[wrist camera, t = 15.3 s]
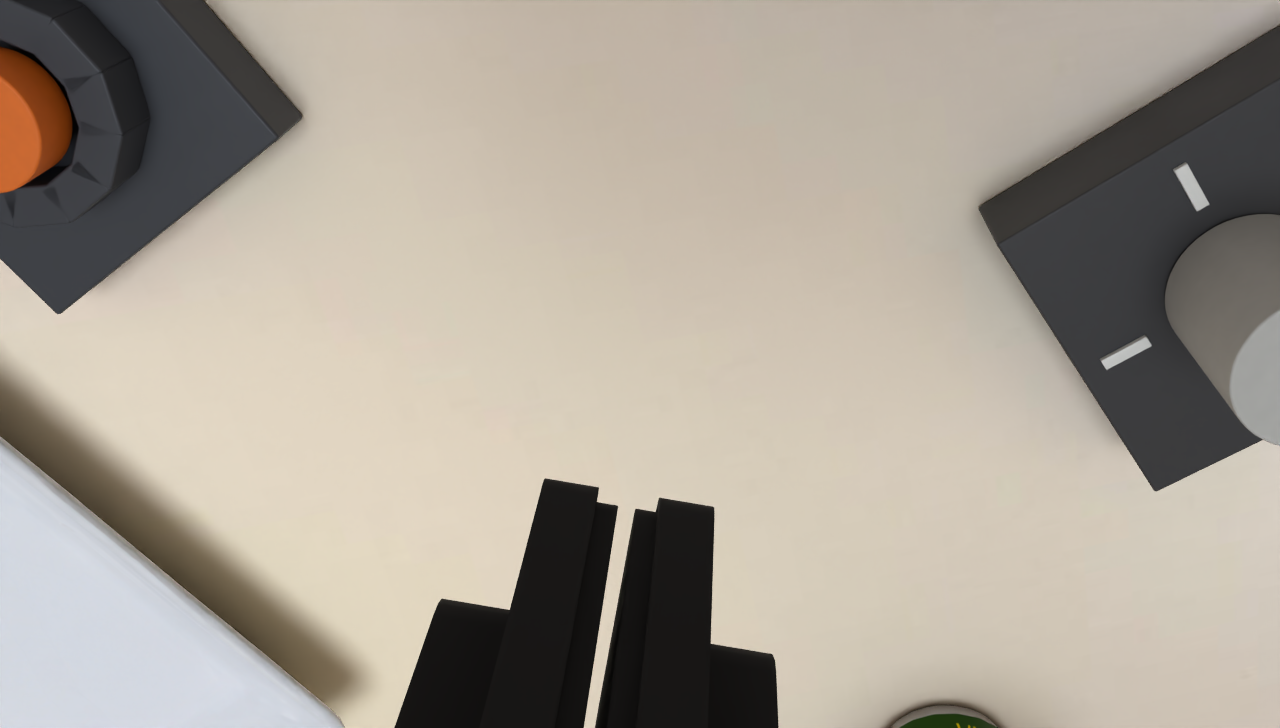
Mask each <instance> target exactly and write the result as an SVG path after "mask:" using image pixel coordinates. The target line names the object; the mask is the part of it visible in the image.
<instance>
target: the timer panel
mask: <svg viewBox="0 0 1280 728" xmlns="http://www.w3.org/2000/svg"><path fill="white" fill-rule="evenodd" d="M979 211H980V213H981V215H982V217H983V219H984V221H985V222H986V224H987V226H988V228H989V230H990V232H991V234H992V236H993V238H994V240H995V242H996V244H997V246H998V247H999V249H1000V251H1001V252H1002V254H1003V255H1004V257H1005V258H1006V260H1007V262H1008V263H1009V265H1010V266H1011V268H1012V269H1013V271H1014V272H1015V274H1016V276H1017V277H1018V279H1019V280H1020V282H1021V283H1022V285H1023V287H1024V288H1025V290H1026V291H1027V293H1028V294H1029V296H1030V297H1031V299H1032V301H1033V302H1034V304H1035V305H1036V307H1037V308H1038V310H1039V312H1040V313H1041V315H1042V316H1043V318H1044V319H1045V321H1046V322H1047V324H1048V326H1049V327H1050V329H1051V330H1052V332H1053V333H1054V335H1055V337H1056V338H1057V340H1058V341H1059V343H1060V344H1061V346H1062V347H1063V349H1064V351H1065V352H1066V354H1067V355H1068V357H1069V358H1070V360H1071V362H1072V363H1073V365H1074V366H1075V368H1076V369H1077V371H1078V372H1079V374H1080V376H1081V377H1082V379H1083V380H1084V382H1085V383H1086V385H1087V387H1088V388H1089V390H1090V391H1091V393H1092V394H1093V396H1094V397H1095V399H1096V401H1097V402H1098V404H1099V405H1100V407H1101V408H1102V410H1103V412H1104V413H1105V415H1106V416H1107V418H1108V419H1109V421H1110V422H1111V424H1112V426H1113V427H1114V429H1115V430H1116V432H1117V433H1118V435H1119V437H1120V438H1121V440H1122V441H1123V443H1124V444H1125V446H1126V447H1127V449H1128V451H1129V452H1130V454H1131V455H1132V457H1133V458H1134V460H1135V462H1136V463H1137V465H1138V466H1139V468H1140V469H1141V471H1142V472H1143V474H1144V476H1145V477H1146V479H1147V480H1148V482H1149V483H1150V485H1151V487H1152V488H1153V490H1154V491H1158V490H1160V489H1162V488H1164V487H1167V486H1169V485H1171V484H1173V483H1175V482H1177V481H1179V480H1181V479H1183V478H1185V477H1187V476H1189V475H1191V474H1193V473H1195V472H1197V471H1199V470H1202V469H1204V468H1206V467H1208V466H1210V465H1212V464H1214V463H1216V462H1218V461H1220V460H1222V459H1224V458H1226V457H1228V456H1230V455H1232V454H1235V453H1237V452H1239V451H1241V450H1243V449H1245V448H1247V447H1249V446H1251V445H1253V444H1255V443H1257V442H1259V441H1261V440H1263V439H1261V438H1259V437H1257V436H1256V435H1254V434H1253V433H1252V432H1250V431H1249V430H1248V429H1247V428H1246V427H1245V426H1244V425H1243V424H1242V423H1241V422H1240V420H1239V419H1238V418H1237V416H1236V415H1235V414H1234V412H1233V411H1232V409H1231V408H1230V407H1229V405H1228V404H1227V403H1226V401H1225V400H1224V399H1223V397H1222V396H1221V394H1220V393H1219V392H1218V390H1217V389H1216V388H1215V386H1214V385H1213V384H1212V382H1211V381H1210V380H1209V378H1208V377H1207V375H1206V374H1205V373H1204V371H1203V370H1202V369H1201V367H1200V366H1199V365H1198V363H1197V362H1196V360H1195V359H1194V358H1193V356H1192V355H1191V354H1190V352H1189V351H1188V350H1187V348H1186V347H1185V345H1184V344H1183V343H1182V341H1181V340H1180V339H1179V337H1178V336H1177V335H1176V333H1175V332H1174V330H1173V329H1172V327H1171V325H1170V323H1169V320H1168V318H1167V314H1166V309H1165V292H1166V287H1167V282H1168V279H1169V277H1170V274H1171V272H1172V270H1173V268H1174V266H1175V264H1176V262H1177V261H1178V259H1179V258H1180V256H1181V255H1182V254H1183V253H1184V251H1185V250H1186V249H1187V248H1188V247H1189V246H1190V245H1191V244H1192V243H1193V242H1194V241H1195V240H1196V239H1198V238H1199V237H1200V236H1202V235H1203V234H1204V233H1206V232H1207V231H1209V230H1211V229H1212V228H1214V227H1216V226H1218V225H1220V224H1222V223H1224V222H1226V221H1229V220H1232V219H1235V218H1239V217H1243V216H1248V215H1256V214H1274V215H1280V26H1278V27H1277V28H1275V29H1273V30H1272V31H1270V32H1268V33H1267V34H1265V35H1263V36H1262V37H1260V38H1258V39H1257V40H1255V41H1253V42H1252V43H1250V44H1248V45H1247V46H1245V47H1244V48H1242V49H1240V50H1239V51H1237V52H1235V53H1234V54H1232V55H1230V56H1229V57H1227V58H1225V59H1224V60H1222V61H1220V62H1219V63H1217V64H1215V65H1214V66H1212V67H1210V68H1209V69H1207V70H1205V71H1204V72H1202V73H1200V74H1199V75H1197V76H1195V77H1194V78H1192V79H1190V80H1189V81H1187V82H1185V83H1184V84H1182V85H1180V86H1179V87H1177V88H1175V89H1174V90H1172V91H1170V92H1169V93H1167V94H1166V95H1164V96H1162V97H1161V98H1159V99H1157V100H1156V101H1154V102H1152V103H1151V104H1149V105H1147V106H1146V107H1144V108H1142V109H1141V110H1139V111H1137V112H1136V113H1134V114H1132V115H1131V116H1129V117H1127V118H1126V119H1124V120H1122V121H1121V122H1119V123H1117V124H1116V125H1114V126H1112V127H1111V128H1109V129H1107V130H1106V131H1104V132H1102V133H1101V134H1099V135H1097V136H1096V137H1094V138H1092V139H1091V140H1089V141H1087V142H1086V143H1084V144H1083V145H1081V146H1079V147H1078V148H1076V149H1074V150H1073V151H1071V152H1069V153H1068V154H1066V155H1064V156H1063V157H1061V158H1059V159H1058V160H1056V161H1054V162H1053V163H1051V164H1049V165H1048V166H1046V167H1044V168H1043V169H1041V170H1039V171H1038V172H1036V173H1034V174H1033V175H1031V176H1029V177H1028V178H1026V179H1024V180H1023V181H1021V182H1019V183H1018V184H1016V185H1014V186H1013V187H1011V188H1009V189H1008V190H1006V191H1004V192H1003V193H1001V194H1000V195H998V196H996V197H995V198H993V199H991V200H990V201H988V202H986V203H985V204H983V205H981V206H980V207H979Z"/></svg>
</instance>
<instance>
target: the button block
mask: <svg viewBox="0 0 1280 728" xmlns="http://www.w3.org/2000/svg"><path fill="white" fill-rule="evenodd" d="M0 47H3V48H8V49H11V50H14V51H16V52H19V53H21V54H23V55H25V56H27V57H29V58H30V59H32V60H33V61H35V62H36V63H38V64H39V65H40V66H41V67H43V68H44V69H45V70H46V71H47V72H48V73H49V74H50V75H51V76H52V78H53V79H54V80H55V81H56V83H57V84H58V85H59V87H60V88H61V90H62V92H63V94H64V96H65V98H66V100H67V102H68V105H69V108H70V112H71V117H72V138H71V141H70V145H69V148H68V150H67V152H66V154H65V155H64V156H63V158H62V159H61V160H60V161H59V162H58V163H57V164H56V165H54V166H53V167H52V168H50V169H49V170H47V171H45V172H44V173H42V174H41V175H39V176H37V177H36V178H34V179H33V180H31V181H29V182H28V183H26V184H25V185H23V186H21V187H20V188H18V189H16V190H13V191H10V192H6V193H0V259H1V260H2V261H3V262H4V263H5V264H6V265H7V266H8V267H9V268H10V269H11V270H12V271H13V272H14V273H15V274H16V275H18V276H19V277H20V278H21V279H22V280H23V281H24V282H25V283H26V284H27V285H28V286H29V287H30V288H31V289H32V290H33V291H34V292H35V293H36V294H37V295H38V296H39V297H40V298H41V299H42V300H43V301H44V302H45V303H46V304H47V305H48V306H49V307H50V308H51V309H52V310H53V311H54V312H55V313H57V314H61V313H62V312H63V311H65V310H66V309H67V308H68V307H70V306H71V305H72V304H73V303H75V302H76V301H77V300H78V299H80V298H81V297H82V296H83V295H85V294H86V293H87V292H88V291H90V290H91V289H92V288H93V287H95V286H96V285H97V284H98V283H100V282H101V281H102V280H103V279H105V278H106V277H107V276H108V275H110V274H111V273H112V272H113V271H115V270H116V269H117V268H118V267H120V266H121V265H122V264H123V263H125V262H126V261H127V260H128V259H130V258H131V257H132V256H133V255H135V254H136V253H137V252H138V251H140V250H141V249H142V248H143V247H145V246H146V245H147V244H148V243H150V242H151V241H152V240H153V239H155V238H156V237H157V236H158V235H160V234H161V233H162V232H163V231H165V230H166V229H167V228H168V227H170V226H171V225H172V224H173V223H175V222H176V221H177V220H178V219H180V218H181V217H182V216H183V215H185V214H186V213H187V212H188V211H190V210H191V209H192V208H193V207H195V206H196V205H197V204H198V203H200V202H201V201H202V200H203V199H205V198H206V197H207V196H208V195H210V194H211V193H212V192H213V191H215V190H216V189H217V188H218V187H220V186H221V185H222V184H223V183H225V182H226V181H227V180H228V179H230V178H231V177H232V176H233V175H235V174H236V173H237V172H238V171H240V170H241V169H242V168H243V167H245V166H246V165H247V164H248V163H250V162H251V161H252V160H253V159H255V158H256V157H257V156H258V155H260V154H261V153H262V152H263V151H264V150H266V149H267V148H268V147H269V146H271V145H272V144H273V143H274V142H276V141H277V140H278V139H279V138H281V137H282V136H283V135H284V134H285V133H286V132H287V131H289V130H290V129H291V128H292V127H293V126H294V125H295V124H296V123H298V122H299V121H300V120H301V119H302V115H301V114H300V113H299V111H298V110H297V109H296V108H295V107H294V106H293V105H292V103H291V102H290V101H289V100H288V99H287V98H286V96H285V95H284V94H283V93H282V92H281V91H280V89H279V88H278V87H277V86H276V85H275V84H274V82H273V81H272V80H271V79H270V78H269V77H268V76H267V74H266V73H265V72H264V71H263V70H262V69H261V67H260V66H259V65H258V64H257V63H256V62H255V60H254V59H253V58H252V57H251V56H250V55H249V53H248V52H247V51H246V50H245V49H244V48H243V47H242V45H241V44H240V43H239V42H238V41H237V40H236V38H235V37H234V36H233V35H232V34H231V33H230V31H229V30H228V29H227V28H226V27H225V26H224V25H223V23H222V22H221V21H220V20H219V19H218V18H217V16H216V15H215V14H214V13H213V12H212V11H211V9H210V8H209V7H208V6H207V5H206V4H205V2H204V1H203V0H0Z"/></svg>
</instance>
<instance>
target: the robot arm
mask: <svg viewBox="0 0 1280 728" xmlns="http://www.w3.org/2000/svg"><path fill="white" fill-rule="evenodd" d="M598 490H599V488H598V487H593V486H587V485H581V484H575V483H569V482H563V481H557V480H551V479H544V482H543V485H542V489H541V493H540V496H539V500H538V504H537V508H536V512H535V516H534V519H533V523H532V527H531V531H530V535H529V539H528V542H527V546H526V550H525V554H524V558H523V562H522V565H521V569H520V573H519V577H518V581H517V585H516V588H515V592H514V596H513V600H512V604H511V608H510V610H506V609H500V608H494V607H488V606H482V605H476V604H470V603H464V602H458V601H452V600H446V599H441V600H440V602H439V603H438V605H437V608H436V610H435V613H434V615H433V618H432V621H431V624H430V627H429V630H428V633H427V635H426V638H425V641H424V644H423V647H422V650H421V653H420V656H419V659H418V661H417V664H416V667H415V670H414V673H413V676H412V679H411V682H410V685H409V688H408V690H407V693H406V696H405V699H404V702H403V705H402V708H401V711H400V714H399V716H398V719H397V722H396V725H395V728H584V721H585V715H586V708H587V702H588V696H589V689H590V683H591V676H592V670H593V663H594V657H595V651H596V644H597V638H598V631H599V625H600V618H601V612H602V606H603V599H604V593H605V586H606V580H607V573H608V567H609V561H610V554H611V548H612V541H613V535H614V528H615V522H616V516H617V509H618V506H616V505H610V504H604V503H598V502H597V497H598ZM713 544H714V507H711V506H705V505H699V504H693V503H687V502H681V501H675V500H670V499H664V498H659V500H658V505H657V509H656V512H652V511H646V510H640V509H635V513H634V518H633V524H632V529H631V534H630V540H629V545H628V551H627V556H626V561H625V567H624V572H623V578H622V583H621V589H620V594H619V599H618V605H617V610H616V616H615V621H614V627H613V632H612V637H611V643H610V648H609V654H608V659H607V665H606V670H605V675H604V681H603V686H602V692H601V697H600V703H599V708H598V714H597V720H596V726H595V728H778V707H777V683H776V667H775V660H774V657H773V655H772V654H768V653H762V652H756V651H750V650H744V649H738V648H732V647H726V646H720V645H714V644H710V642H711V610H712V577H713Z"/></svg>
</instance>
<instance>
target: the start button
mask: <svg viewBox="0 0 1280 728" xmlns="http://www.w3.org/2000/svg"><path fill="white" fill-rule="evenodd" d="M71 138H72V117H71V112H70V108H69V105H68V102H67V100H66V98H65V96H64V94H63V92H62V90H61V88H60V87H59V85H58V84H57V83H56V81H55V80H54V79H53V78H52V76H51V75H50V74H49V73H48V72H47V71H46V70H45V69H44V68H43V67H41V66H40V65H39V64H38V63H36V62H35V61H33V60H32V59H30V58H29V57H27V56H25V55H23V54H21V53H19V52H16V51H14V50H11V49H8V48H3V47H0V193H6V192H10V191H13V190H16V189H18V188H20V187H21V186H23V185H25V184H26V183H28V182H29V181H31V180H33V179H34V178H36V177H37V176H39V175H41V174H42V173H44V172H45V171H47V170H49V169H50V168H52V167H53V166H54V165H56V164H57V163H58V162H59V161H60V160H61V159H62V158H63V156H64V155H65V154H66V152H67V150H68V148H69V145H70V141H71Z"/></svg>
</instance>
